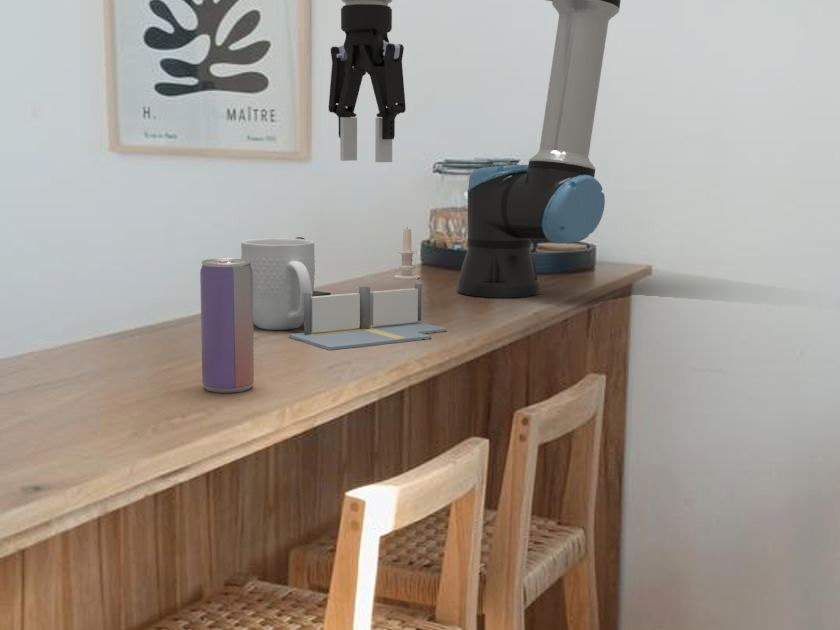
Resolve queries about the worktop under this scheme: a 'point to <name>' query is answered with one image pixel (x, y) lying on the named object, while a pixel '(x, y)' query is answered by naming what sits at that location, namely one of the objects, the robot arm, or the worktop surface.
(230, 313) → the beverage can
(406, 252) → the candle
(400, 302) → the panel
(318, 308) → the fence fixed panel
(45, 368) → the worktop surface
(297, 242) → the mug
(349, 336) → the card
